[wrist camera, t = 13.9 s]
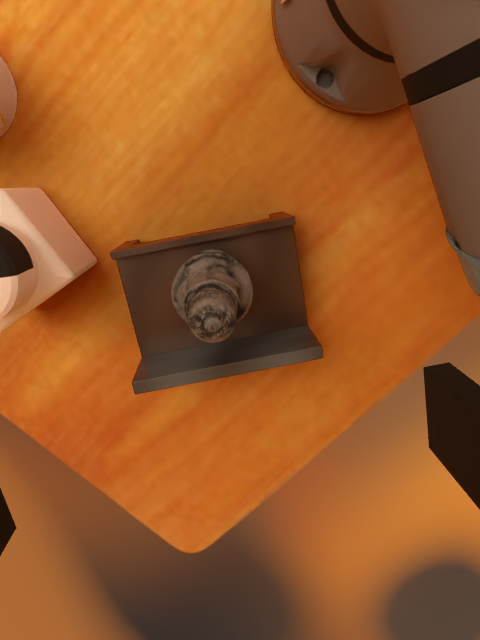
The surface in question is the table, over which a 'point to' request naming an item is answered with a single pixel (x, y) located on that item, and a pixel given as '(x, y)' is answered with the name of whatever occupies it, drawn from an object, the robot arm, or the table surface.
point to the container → (35, 252)
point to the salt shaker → (212, 294)
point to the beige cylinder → (6, 97)
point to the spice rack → (249, 334)
